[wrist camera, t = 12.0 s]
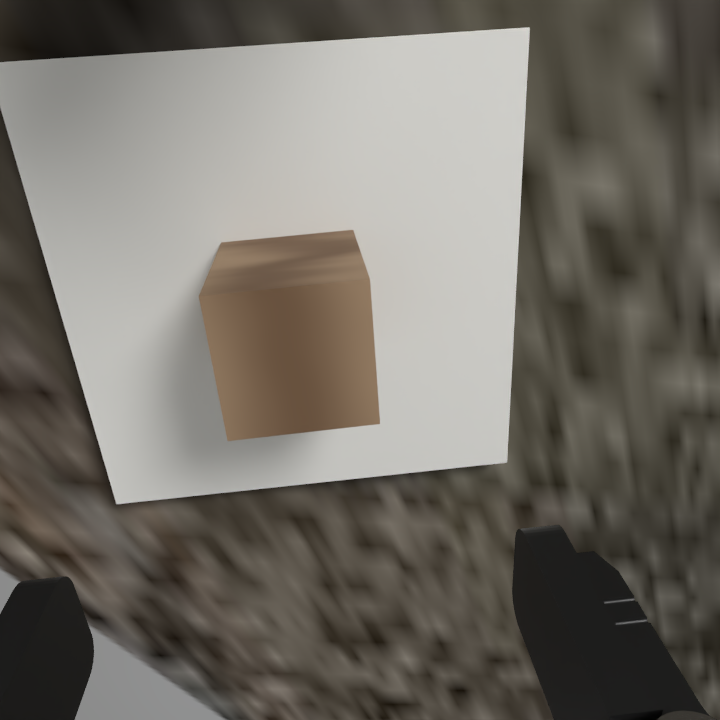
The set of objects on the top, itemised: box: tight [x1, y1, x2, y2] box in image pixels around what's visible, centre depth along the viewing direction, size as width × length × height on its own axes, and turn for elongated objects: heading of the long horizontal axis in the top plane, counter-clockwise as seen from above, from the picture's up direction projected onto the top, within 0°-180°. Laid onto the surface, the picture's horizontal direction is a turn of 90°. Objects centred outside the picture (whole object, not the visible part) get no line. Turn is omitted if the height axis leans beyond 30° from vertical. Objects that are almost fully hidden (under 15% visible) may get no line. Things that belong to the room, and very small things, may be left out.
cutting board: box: [0, 27, 530, 504], centre depth 25 cm, size 18×18×1 cm
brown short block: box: [199, 230, 380, 441], centre depth 22 cm, size 5×5×6 cm
